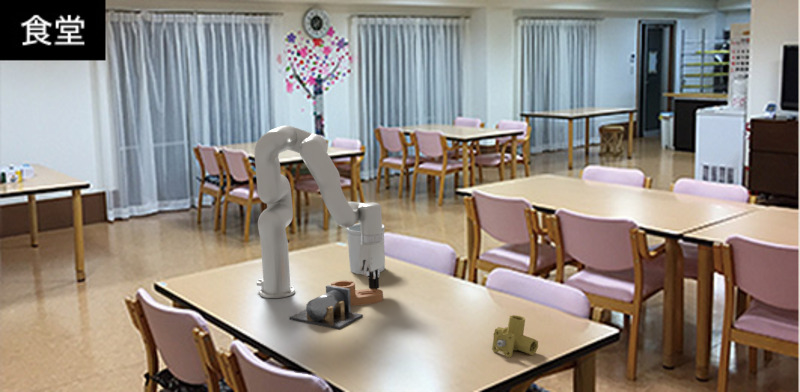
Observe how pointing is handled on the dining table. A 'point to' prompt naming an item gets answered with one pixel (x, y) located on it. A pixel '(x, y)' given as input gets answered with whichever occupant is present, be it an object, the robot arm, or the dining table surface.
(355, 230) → the utensil holder
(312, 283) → the dining table surface
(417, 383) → the dining table surface
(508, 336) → the ball valve
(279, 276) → the robot arm
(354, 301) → the bracket
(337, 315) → the pipe stub
